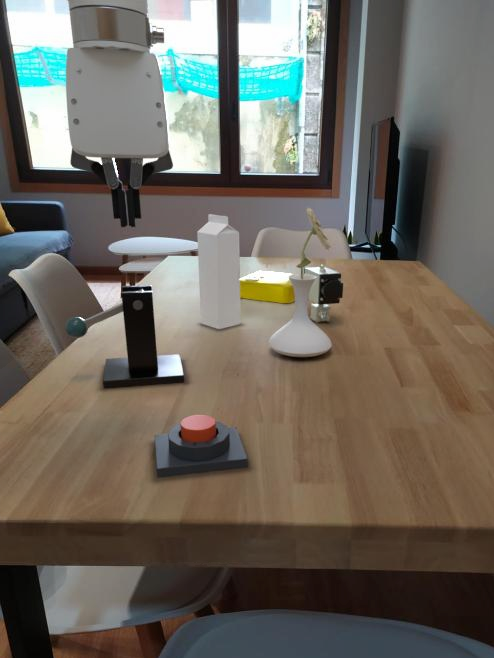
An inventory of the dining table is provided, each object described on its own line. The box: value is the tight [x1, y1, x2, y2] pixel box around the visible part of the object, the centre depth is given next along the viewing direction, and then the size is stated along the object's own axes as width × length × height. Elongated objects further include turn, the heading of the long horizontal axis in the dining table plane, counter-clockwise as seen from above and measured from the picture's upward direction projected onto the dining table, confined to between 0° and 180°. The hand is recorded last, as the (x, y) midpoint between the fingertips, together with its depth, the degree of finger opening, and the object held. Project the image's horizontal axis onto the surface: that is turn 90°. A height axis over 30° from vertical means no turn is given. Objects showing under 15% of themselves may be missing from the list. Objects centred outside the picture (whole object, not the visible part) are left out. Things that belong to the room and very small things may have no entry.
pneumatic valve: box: [303, 264, 344, 324], centre depth 116 cm, size 6×12×12 cm, turn 21°
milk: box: [196, 213, 241, 330], centre depth 110 cm, size 6×6×22 cm
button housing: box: [154, 420, 249, 479], centre depth 63 cm, size 10×8×3 cm
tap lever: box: [64, 288, 144, 339], centre depth 82 cm, size 13×3×3 cm, turn 105°
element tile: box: [240, 270, 295, 304], centre depth 139 cm, size 15×15×5 cm
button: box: [180, 414, 217, 443], centre depth 63 cm, size 4×4×2 cm
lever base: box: [102, 284, 185, 389], centre depth 85 cm, size 12×10×14 cm
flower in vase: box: [268, 206, 333, 358], centre depth 95 cm, size 13×11×25 cm
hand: (128, 225), depth 62 cm, fingers closed
